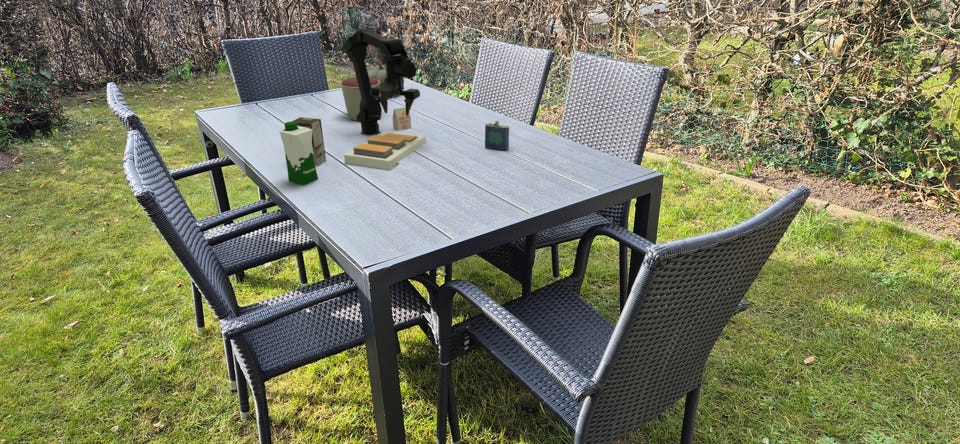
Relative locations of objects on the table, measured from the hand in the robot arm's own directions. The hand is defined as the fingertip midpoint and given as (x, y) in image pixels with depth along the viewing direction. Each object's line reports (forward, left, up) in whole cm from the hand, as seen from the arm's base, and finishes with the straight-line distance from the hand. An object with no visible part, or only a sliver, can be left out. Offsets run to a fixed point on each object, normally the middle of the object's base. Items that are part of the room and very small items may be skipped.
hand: (396, 114), depth 226 cm
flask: (+38, +11, -13) cm, 42 cm away
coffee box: (-22, -27, -13) cm, 38 cm away
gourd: (-48, +72, -13) cm, 87 cm away
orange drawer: (0, -9, -10) cm, 14 cm away
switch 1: (0, -19, -10) cm, 22 cm away
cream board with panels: (-2, -9, -13) cm, 16 cm away
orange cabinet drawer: (0, +1, -12) cm, 12 cm away
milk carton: (-14, -43, -13) cm, 48 cm away
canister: (-34, +30, -13) cm, 47 cm away
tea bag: (-8, +19, -13) cm, 24 cm away
